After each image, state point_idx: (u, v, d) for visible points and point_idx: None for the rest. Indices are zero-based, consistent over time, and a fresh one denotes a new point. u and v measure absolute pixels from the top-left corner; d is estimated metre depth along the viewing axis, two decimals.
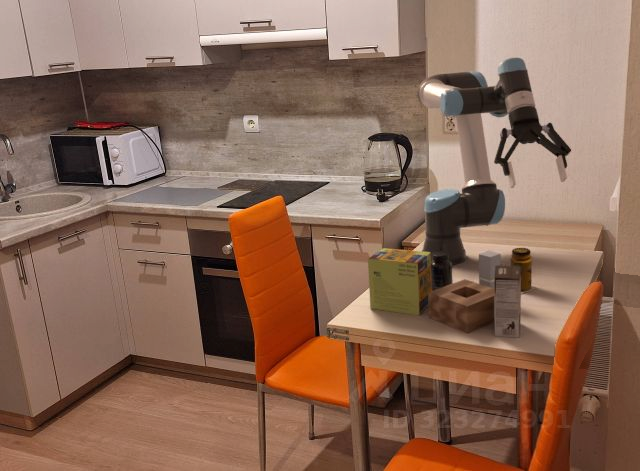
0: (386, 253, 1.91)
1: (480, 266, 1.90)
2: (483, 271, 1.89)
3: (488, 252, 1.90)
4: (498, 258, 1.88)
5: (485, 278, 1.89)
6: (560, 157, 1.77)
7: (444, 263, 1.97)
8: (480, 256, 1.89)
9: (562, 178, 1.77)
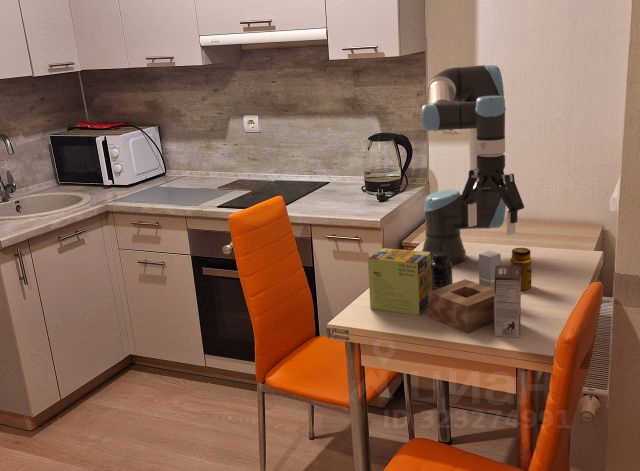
0: (386, 253, 1.91)
1: (480, 266, 1.90)
2: (483, 271, 1.89)
3: (488, 252, 1.90)
4: (498, 258, 1.88)
5: (485, 278, 1.89)
6: (507, 213, 1.79)
7: (444, 263, 1.97)
8: (480, 256, 1.89)
9: None
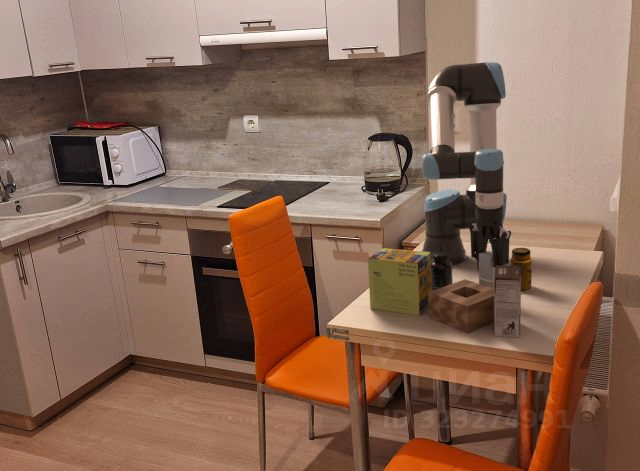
0: (386, 253, 1.91)
1: (480, 266, 1.90)
2: (483, 271, 1.89)
3: (488, 252, 1.90)
4: None
5: (485, 278, 1.89)
6: (493, 268, 1.87)
7: (444, 263, 1.97)
8: (480, 256, 1.89)
9: None
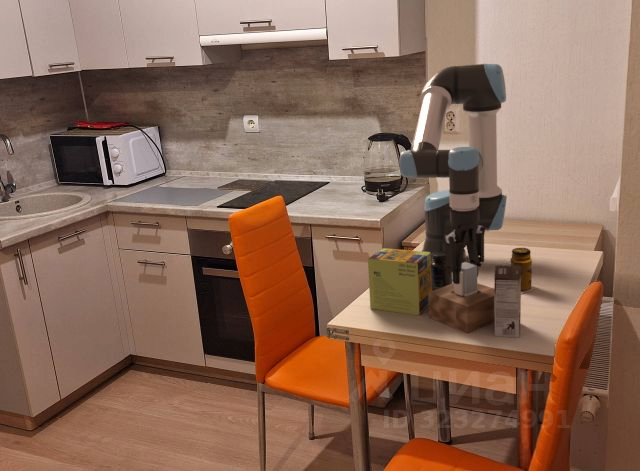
0: (386, 253, 1.91)
1: (467, 281, 1.76)
2: (470, 284, 1.77)
3: None
4: None
5: (472, 291, 1.78)
6: None
7: (444, 263, 1.97)
8: (467, 271, 1.75)
9: None
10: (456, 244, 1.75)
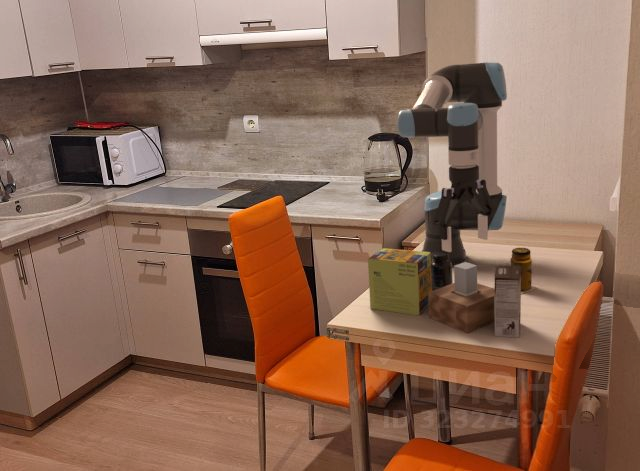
0: (386, 253, 1.91)
1: (467, 281, 1.76)
2: (470, 284, 1.77)
3: (460, 266, 1.78)
4: None
5: (472, 291, 1.78)
6: (486, 218, 1.77)
7: (444, 263, 1.97)
8: (467, 271, 1.75)
9: (482, 237, 1.79)
10: (452, 200, 1.71)
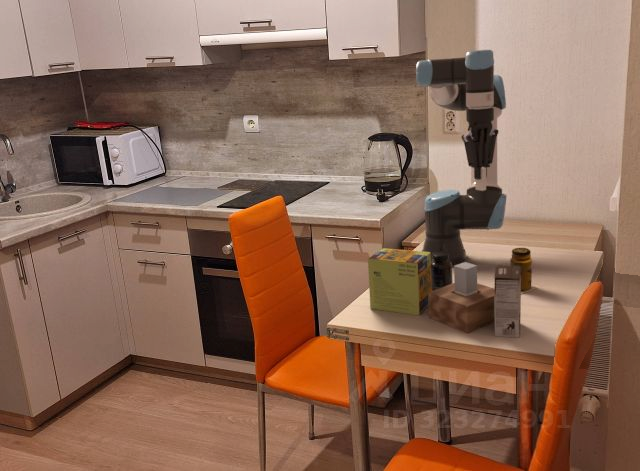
0: (386, 253, 1.91)
1: (467, 281, 1.76)
2: (470, 284, 1.77)
3: (460, 266, 1.78)
4: None
5: (472, 291, 1.78)
6: (484, 169, 1.91)
7: (444, 263, 1.97)
8: (467, 271, 1.75)
9: None
10: (474, 142, 1.89)
